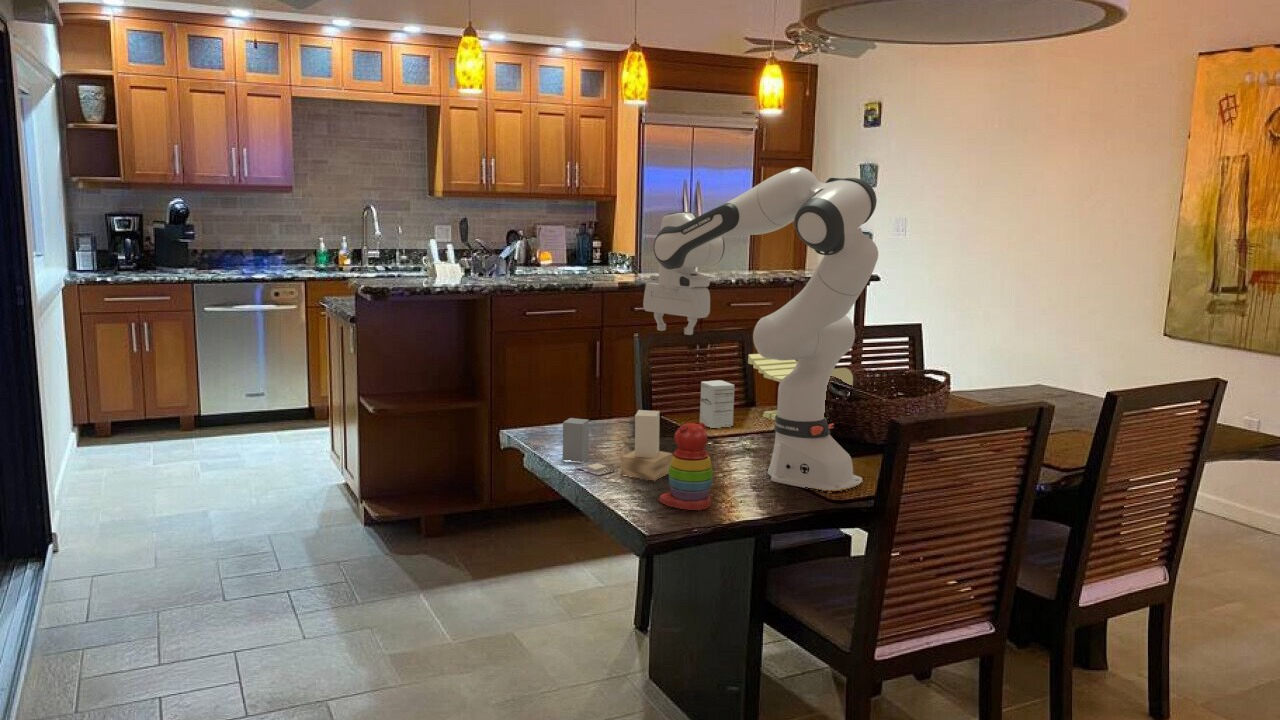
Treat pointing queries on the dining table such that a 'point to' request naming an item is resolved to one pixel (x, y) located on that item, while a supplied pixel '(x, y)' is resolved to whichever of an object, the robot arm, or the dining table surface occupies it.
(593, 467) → the card
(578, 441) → the grey block
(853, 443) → the dining table surface
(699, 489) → the stacking bear
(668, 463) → the oak pedestal
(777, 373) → the slatted curved stool
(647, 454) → the cream block
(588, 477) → the dining table surface
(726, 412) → the supplement box
